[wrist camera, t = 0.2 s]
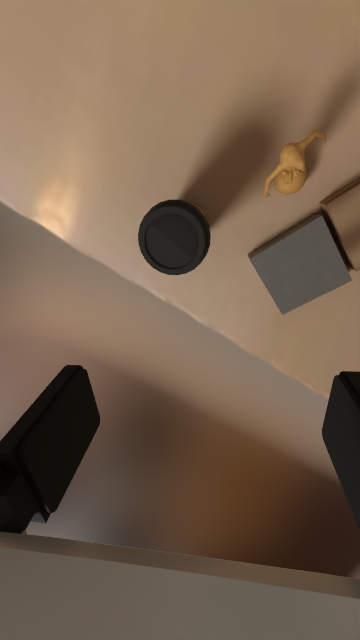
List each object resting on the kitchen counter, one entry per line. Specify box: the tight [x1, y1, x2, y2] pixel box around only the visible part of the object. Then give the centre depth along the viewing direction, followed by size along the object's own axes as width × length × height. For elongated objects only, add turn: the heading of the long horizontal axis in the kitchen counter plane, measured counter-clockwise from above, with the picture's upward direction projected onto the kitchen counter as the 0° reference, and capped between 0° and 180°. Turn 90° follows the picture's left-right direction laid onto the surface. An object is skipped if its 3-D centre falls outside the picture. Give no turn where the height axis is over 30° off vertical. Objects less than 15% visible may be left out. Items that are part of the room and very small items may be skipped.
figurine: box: [263, 130, 326, 197], centre depth 32 cm, size 8×6×12 cm
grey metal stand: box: [248, 213, 352, 315], centre depth 41 cm, size 11×11×3 cm
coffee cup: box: [138, 200, 210, 275], centre depth 36 cm, size 8×8×15 cm
